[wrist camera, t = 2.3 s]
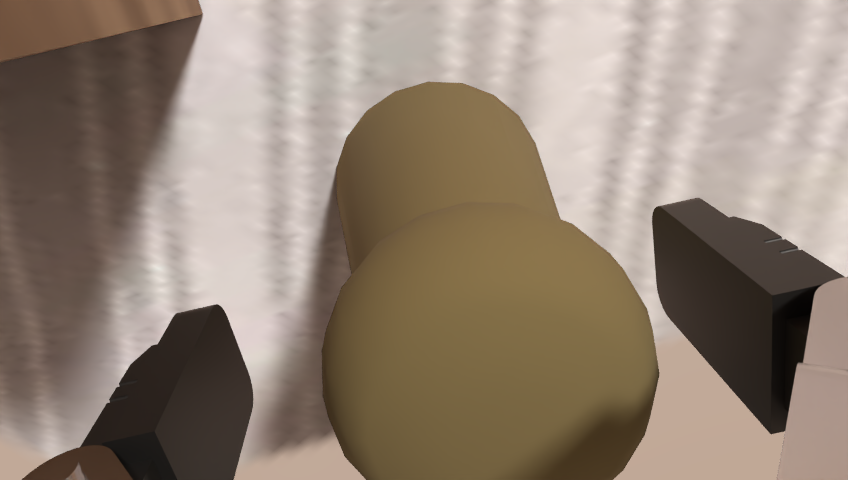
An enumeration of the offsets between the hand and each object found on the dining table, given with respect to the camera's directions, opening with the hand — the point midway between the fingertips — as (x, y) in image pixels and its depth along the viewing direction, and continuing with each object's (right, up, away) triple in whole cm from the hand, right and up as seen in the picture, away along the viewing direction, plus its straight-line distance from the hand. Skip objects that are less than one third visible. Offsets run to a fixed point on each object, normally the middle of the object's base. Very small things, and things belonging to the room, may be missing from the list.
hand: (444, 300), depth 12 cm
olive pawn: (0, +3, +7) cm, 8 cm away
